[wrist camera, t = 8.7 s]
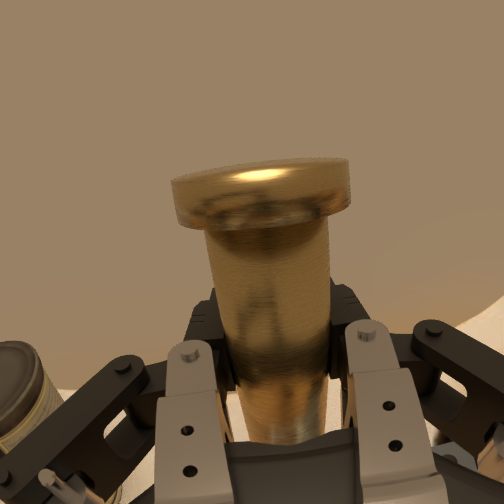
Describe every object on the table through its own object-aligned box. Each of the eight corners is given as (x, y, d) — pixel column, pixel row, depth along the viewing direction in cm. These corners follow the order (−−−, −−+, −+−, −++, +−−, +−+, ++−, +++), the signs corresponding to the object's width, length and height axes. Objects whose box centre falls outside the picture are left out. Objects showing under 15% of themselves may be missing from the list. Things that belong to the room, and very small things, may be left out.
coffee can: (55, 542, 9) (-68, 446, 5) (28, 465, 17) (-53, 363, 12) (143, 505, 16) (46, 400, 11) (99, 434, 23) (33, 325, 18)
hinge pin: (232, 483, 10) (135, 191, 6) (249, 413, 14) (204, 168, 10) (335, 486, 9) (365, 166, 5) (335, 413, 13) (337, 155, 9)
